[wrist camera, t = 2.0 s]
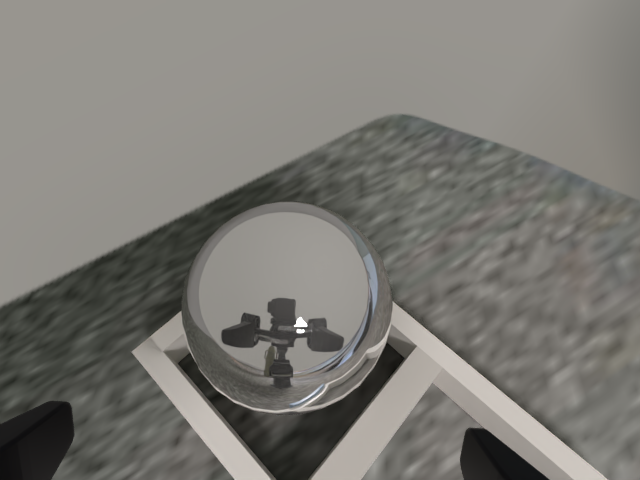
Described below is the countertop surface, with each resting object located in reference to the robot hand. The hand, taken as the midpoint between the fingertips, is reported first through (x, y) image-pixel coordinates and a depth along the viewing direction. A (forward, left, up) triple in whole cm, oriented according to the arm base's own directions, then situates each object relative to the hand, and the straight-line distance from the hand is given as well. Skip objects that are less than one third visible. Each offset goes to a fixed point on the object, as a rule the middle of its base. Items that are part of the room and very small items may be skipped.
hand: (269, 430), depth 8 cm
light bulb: (+3, +3, -11) cm, 12 cm away
